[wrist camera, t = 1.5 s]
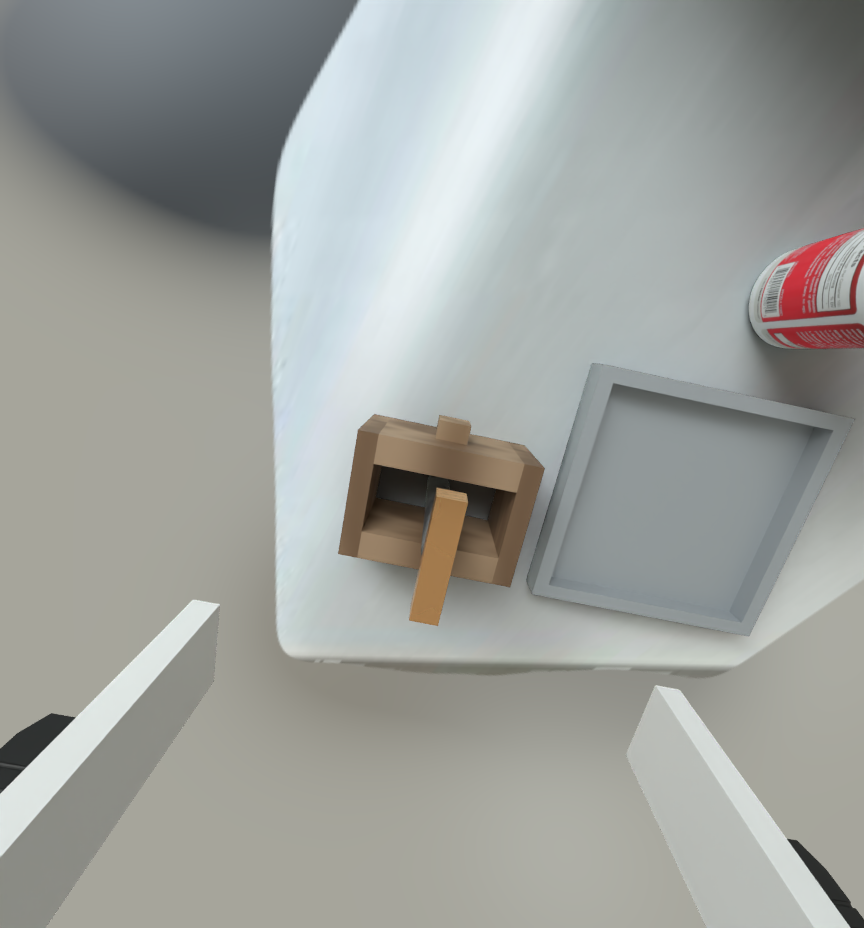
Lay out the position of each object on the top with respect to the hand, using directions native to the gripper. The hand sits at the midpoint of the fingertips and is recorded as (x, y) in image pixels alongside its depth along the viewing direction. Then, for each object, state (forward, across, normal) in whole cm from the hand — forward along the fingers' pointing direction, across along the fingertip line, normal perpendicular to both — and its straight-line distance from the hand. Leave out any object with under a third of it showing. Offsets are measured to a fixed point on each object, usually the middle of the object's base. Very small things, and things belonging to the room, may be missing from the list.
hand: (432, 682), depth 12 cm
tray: (+19, +17, +2) cm, 26 cm away
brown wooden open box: (+19, 0, 0) cm, 19 cm away
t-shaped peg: (+19, 0, 0) cm, 19 cm away
